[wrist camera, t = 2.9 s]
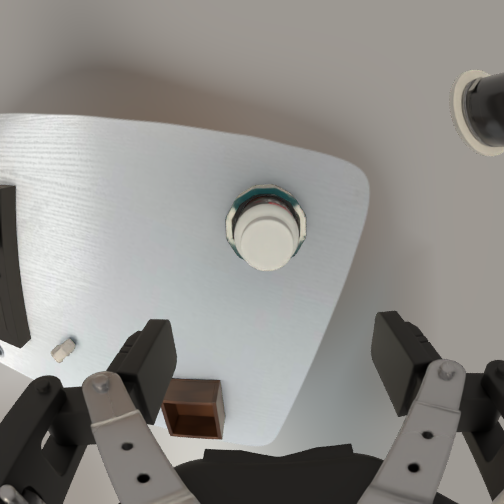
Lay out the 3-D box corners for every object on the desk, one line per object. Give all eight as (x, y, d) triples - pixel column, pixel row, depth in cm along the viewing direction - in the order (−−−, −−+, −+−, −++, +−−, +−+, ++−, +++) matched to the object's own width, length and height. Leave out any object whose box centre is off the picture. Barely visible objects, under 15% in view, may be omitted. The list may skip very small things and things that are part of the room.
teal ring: (301, 183, 31) (305, 186, 28) (301, 253, 34) (306, 264, 30) (227, 186, 32) (223, 189, 28) (231, 256, 34) (228, 267, 31)
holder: (220, 380, 39) (216, 403, 35) (225, 416, 41) (222, 439, 37) (167, 377, 39) (158, 399, 35) (176, 414, 41) (170, 436, 37)
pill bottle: (290, 192, 32) (302, 207, 22) (293, 244, 33) (305, 278, 24) (237, 196, 32) (226, 213, 23) (241, 247, 34) (233, 283, 24)
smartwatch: (72, 332, 38) (58, 347, 34) (82, 344, 38) (68, 360, 35) (59, 341, 39) (46, 356, 35) (69, 353, 39) (56, 368, 35)
